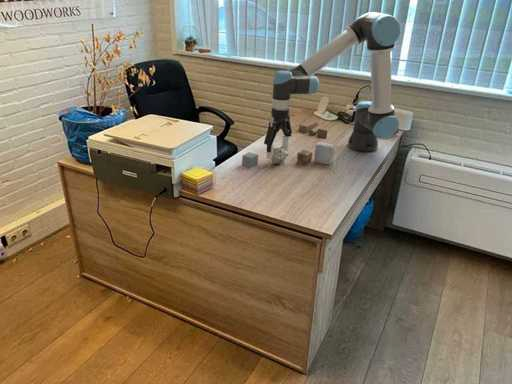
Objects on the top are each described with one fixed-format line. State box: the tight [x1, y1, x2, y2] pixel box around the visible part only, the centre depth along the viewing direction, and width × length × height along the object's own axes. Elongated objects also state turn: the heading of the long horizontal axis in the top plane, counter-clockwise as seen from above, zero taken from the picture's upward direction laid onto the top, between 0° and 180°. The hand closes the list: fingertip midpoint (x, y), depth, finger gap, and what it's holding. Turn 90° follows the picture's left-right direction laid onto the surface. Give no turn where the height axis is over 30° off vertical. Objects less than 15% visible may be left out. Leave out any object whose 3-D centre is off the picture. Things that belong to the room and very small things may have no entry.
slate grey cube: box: [241, 151, 259, 169], centre depth 194 cm, size 5×5×5 cm
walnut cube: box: [296, 149, 313, 166], centre depth 199 cm, size 5×5×5 cm
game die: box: [270, 145, 289, 166], centre depth 196 cm, size 9×8×10 cm
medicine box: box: [313, 141, 335, 166], centre depth 199 cm, size 8×4×9 cm, turn 65°
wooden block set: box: [298, 118, 328, 139], centre depth 239 cm, size 17×6×18 cm
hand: (277, 154), depth 195 cm, fingers open, 13 cm apart
